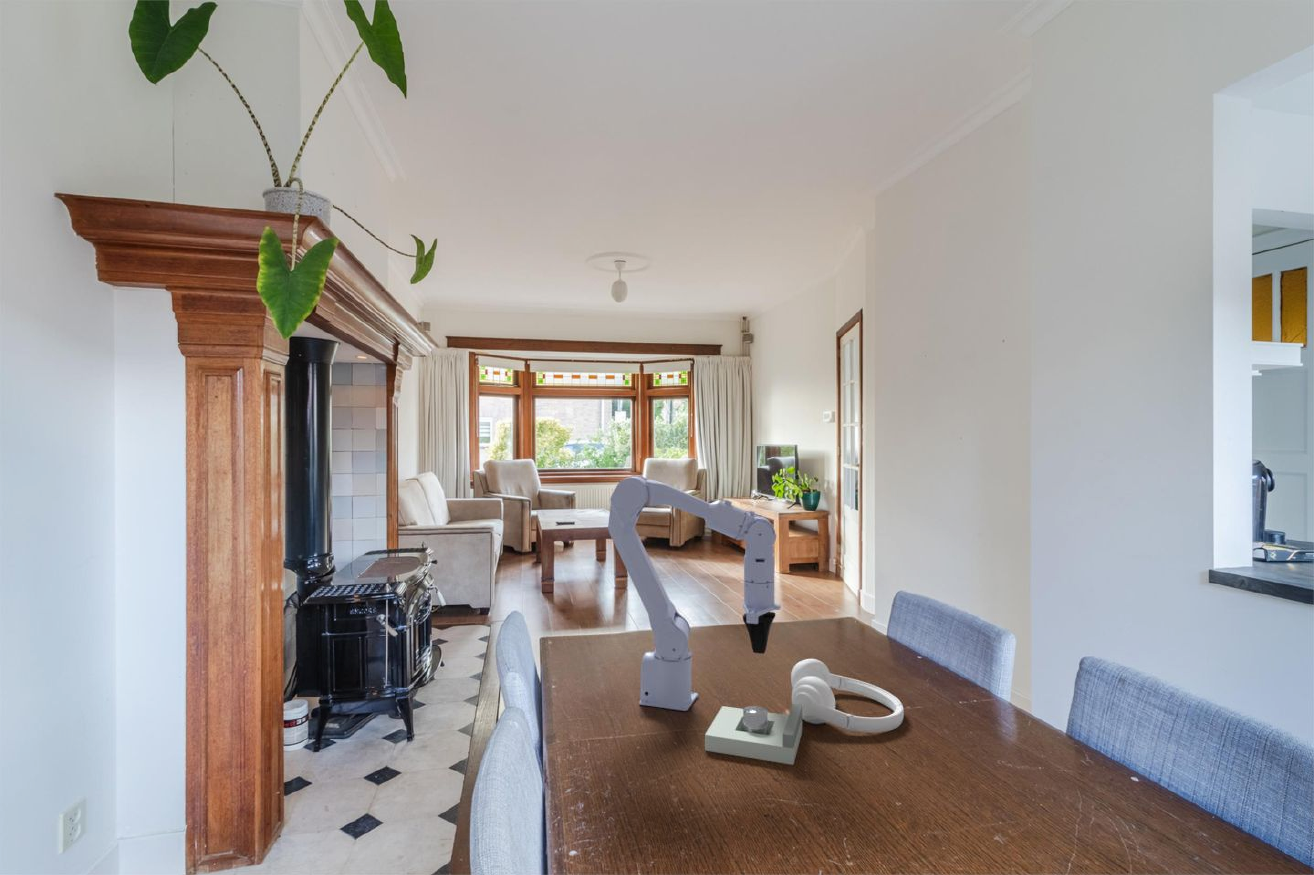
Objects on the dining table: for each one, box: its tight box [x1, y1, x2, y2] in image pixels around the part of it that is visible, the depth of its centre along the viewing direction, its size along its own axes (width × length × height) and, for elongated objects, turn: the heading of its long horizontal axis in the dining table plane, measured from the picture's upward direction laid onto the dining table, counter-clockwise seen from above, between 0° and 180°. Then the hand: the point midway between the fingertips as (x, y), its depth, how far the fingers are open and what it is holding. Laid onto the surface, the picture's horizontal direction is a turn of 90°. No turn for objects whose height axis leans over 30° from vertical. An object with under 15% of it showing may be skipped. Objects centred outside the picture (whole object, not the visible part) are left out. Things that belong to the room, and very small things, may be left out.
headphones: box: [790, 658, 905, 734], centre depth 117 cm, size 20×8×20 cm
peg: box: [742, 705, 769, 735], centre depth 105 cm, size 4×4×5 cm
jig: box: [704, 704, 803, 766], centre depth 105 cm, size 14×12×4 cm
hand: (759, 652), depth 120 cm, fingers closed
